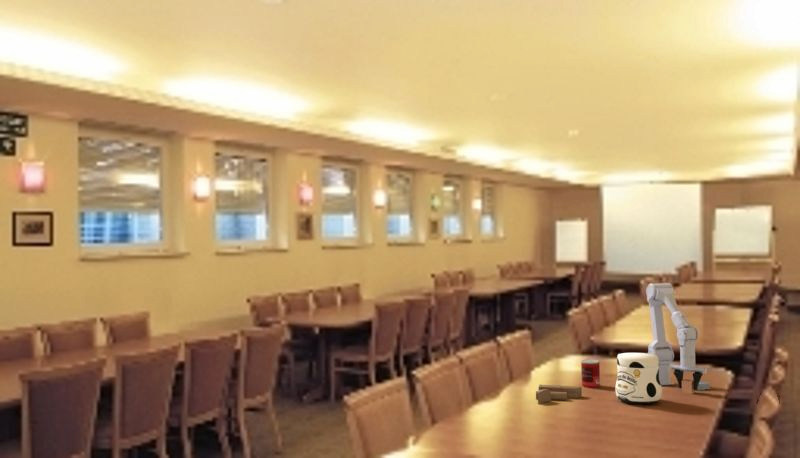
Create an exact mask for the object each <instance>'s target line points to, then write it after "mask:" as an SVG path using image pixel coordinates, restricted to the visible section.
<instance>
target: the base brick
mask: <svg viewBox="0 0 800 458" xmlns="http://www.w3.org/2000/svg"><path fill="white" fill-rule="evenodd" d="M705 389H710V390H711V383H710V382H707V381H704V380H703V379H700V381H699V384H698V389H697V390H696V391H706V390H705Z"/></svg>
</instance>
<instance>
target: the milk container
mask: <svg viewBox="0 0 800 458" xmlns="http://www.w3.org/2000/svg"><path fill="white" fill-rule="evenodd" d="M616 364H617V366H616V369H617V378H616V382H615V387H614V388H615V395H616V397H617V398H618V400H620V401H622V402H625V403H629V404H636V405H638V404H639V405H644V404H645V405H647V404H648V405H649V404H654V403H658V402H659V401H660V400H661V399H662V392H663V389H662V385H661V384H660V381H659V361H658V356H657V355H653V354H648V352H623V353H618V354H617V357H616Z"/></svg>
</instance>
